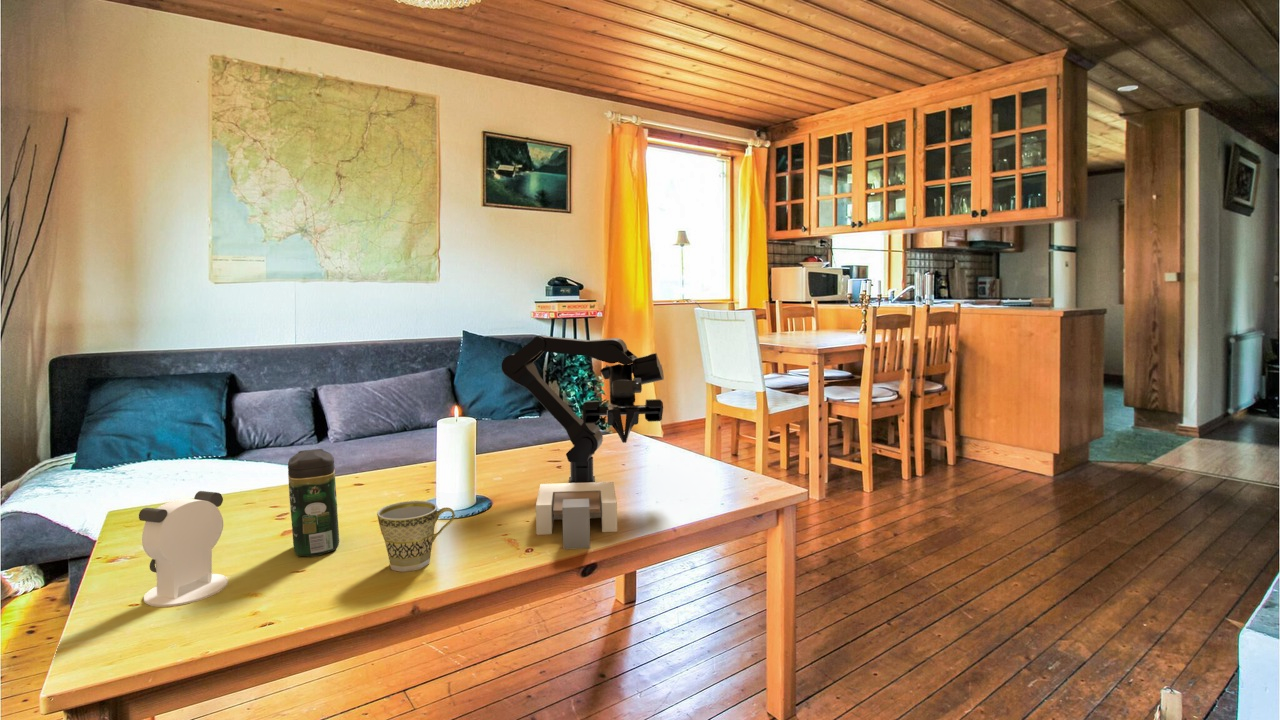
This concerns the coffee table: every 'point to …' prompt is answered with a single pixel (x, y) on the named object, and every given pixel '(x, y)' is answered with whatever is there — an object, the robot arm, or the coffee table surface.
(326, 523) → the coffee jar
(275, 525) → the coffee table surface
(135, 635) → the coffee table surface
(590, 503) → the trapdoor
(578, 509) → the stone
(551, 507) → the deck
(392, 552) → the ceramic cup
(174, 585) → the panda figurine
